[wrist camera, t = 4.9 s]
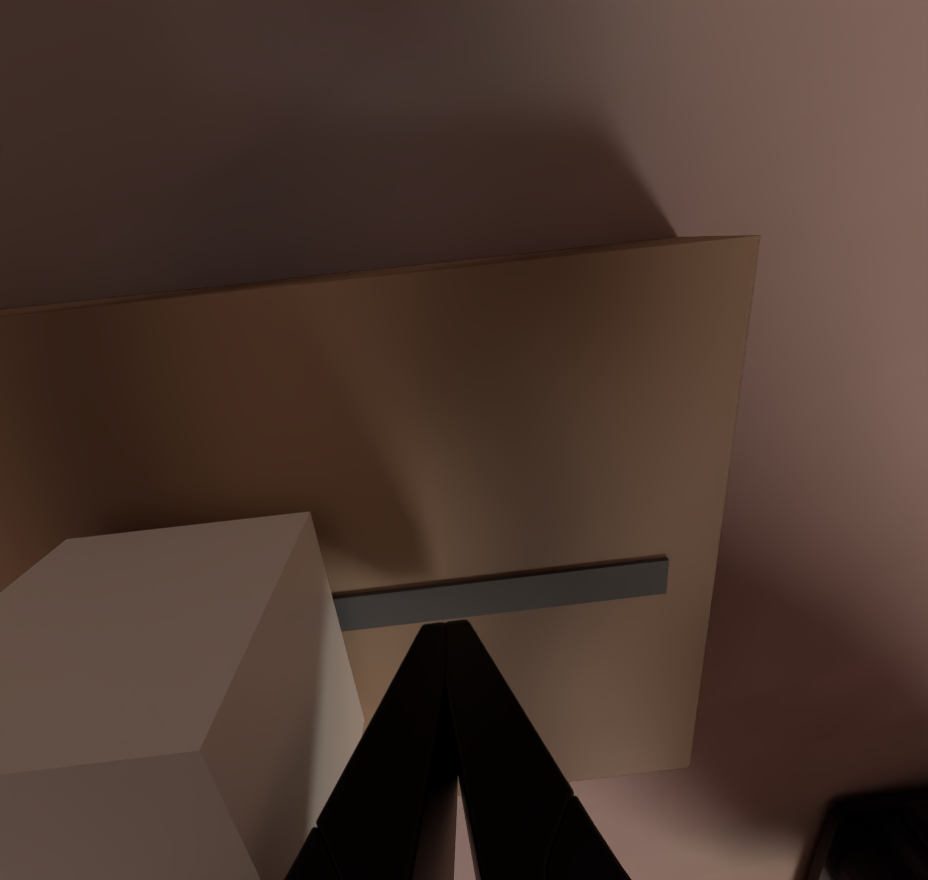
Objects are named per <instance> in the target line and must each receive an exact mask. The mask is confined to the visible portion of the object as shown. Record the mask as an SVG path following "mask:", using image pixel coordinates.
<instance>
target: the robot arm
mask: <svg viewBox="0 0 928 880" xmlns="http://www.w3.org/2000/svg"><path fill="white" fill-rule="evenodd" d="M458 778H459V785H460V790H461V796H462V802H463V808H464V814H465V819H466V825H467V831H468V837H469V843H470V848H471V854H472V860H473V866H474V872H475V877H476V880H631V878H630V877H629V875H628V874H627V873H626V871H625V870H624V869H623V867H622V866H621V864H620V863H619V861H618V860H617V858H616V857H615V855H614V854H613V852H612V851H611V849H610V847H609V846H608V844H607V843H606V841H605V840H604V838H603V837H602V835H601V834H600V832H599V831H598V829H597V828H596V826H595V825H594V823H593V821H592V820H591V818H590V816H589V815H588V813H587V812H586V810H585V808H584V807H583V805H582V803H581V802H580V800H579V799H578V797H577V796H574V792H573V789H572V788H571V786H570V784H569V783H568V781H567V780H566V778H565V776H564V775H563V773H562V771H561V770H560V768H559V767H558V765H557V763H556V762H555V760H554V758H553V757H552V755H551V754H550V752H549V750H548V749H547V747H546V745H545V744H544V742H543V741H542V739H541V737H540V736H539V734H538V732H537V731H536V729H535V727H534V726H533V724H532V723H531V721H530V719H529V718H528V716H527V714H526V713H525V711H524V710H523V708H522V706H521V705H520V703H519V701H518V700H517V698H516V697H515V695H514V693H513V692H512V690H511V688H510V687H509V685H508V684H507V682H506V680H505V679H504V677H503V675H502V674H501V672H500V670H499V669H498V667H497V666H496V664H495V662H494V661H493V659H492V657H491V656H490V654H489V653H488V651H487V649H486V648H485V646H484V644H483V643H482V641H481V640H480V638H479V636H478V635H477V633H476V631H475V630H474V628H473V627H472V625H471V623H470V622H469V621H468V620H466V619H464V620H455V621H448V622H446V623H444V622H437V623H428V624H424V625H422V626H421V628H420V630H419V631H418V633H417V635H416V637H415V639H414V641H413V643H412V644H411V646H410V648H409V650H408V652H407V654H406V656H405V657H404V659H403V661H402V663H401V665H400V667H399V668H398V670H397V672H396V674H395V676H394V678H393V680H392V681H391V683H390V685H389V687H388V689H387V691H386V693H385V694H384V696H383V698H382V700H381V702H380V704H379V706H378V707H377V709H376V711H375V713H374V715H373V717H372V719H371V720H370V722H369V724H368V726H367V728H366V730H365V731H364V733H363V735H362V737H361V739H360V741H359V743H358V744H357V746H356V748H355V750H354V752H353V754H352V756H351V757H350V759H349V761H348V763H347V765H346V767H345V769H344V770H343V772H342V774H341V776H340V778H339V780H338V781H337V783H336V785H335V787H334V789H333V791H332V793H331V794H330V796H329V798H328V800H327V802H326V804H325V806H324V807H323V809H322V811H321V813H320V815H319V817H318V819H317V821H316V825H317V827H313V828H312V829H311V831H310V833H309V835H308V836H307V838H306V840H305V842H304V844H303V846H302V848H301V850H300V851H299V853H298V855H297V857H296V859H295V861H294V862H293V864H292V866H291V868H290V869H289V871H288V873H287V875H286V876H285V878H284V880H454V861H455V838H456V815H457V792H458ZM807 880H928V790H926V791H918V792H910V793H902V794H894V795H886V796H878V797H870V798H862V799H854V800H846V801H842V802H839V803H837V804H835V805H834V806H833V807H831V809H830V810H829V813H828V816H827V819H826V822H825V825H824V828H823V831H822V834H821V837H820V840H819V843H818V846H817V849H816V852H815V855H814V859H813V862H812V865H811V868H810V871H809V874H808V877H807Z"/></svg>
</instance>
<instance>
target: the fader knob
mask: <svg viewBox="0 0 928 880" xmlns="http://www.w3.org/2000/svg"><path fill="white" fill-rule="evenodd" d="M363 725H364V717H363V713H362V709H361V705H360V701H359V698H358V694H357V690H356V686H355V682H354V678H353V675H352V671H351V667H350V663H349V659H348V655H347V651H346V648H345V644H344V640H343V636H342V632H341V628H340V625H339V621H338V617H337V613H336V609H335V605H334V602H333V598H332V594H331V590H330V586H329V582H328V578H327V575H326V571H325V567H324V563H323V559H322V555H321V552H320V548H319V544H318V540H317V536H316V532H315V529H314V525H313V521H312V517H311V513H310V511H309V512H300V513H292V514H283V515H274V516H265V517H257V518H248V519H239V520H230V521H221V522H213V523H204V524H195V525H186V526H178V527H169V528H160V529H151V530H143V531H134V532H125V533H116V534H108V535H99V536H90V537H81V538H72V539H66V540H65V541H64V542H62V543H61V544H60V545H59V546H57V547H56V548H55V549H54V550H52V551H51V552H50V553H49V554H47V555H46V556H45V557H44V558H42V559H41V560H40V561H39V562H37V563H36V564H35V565H34V566H33V567H31V568H30V569H29V570H28V571H26V572H25V573H24V574H23V575H21V576H20V577H19V578H18V579H16V580H15V581H14V582H13V583H11V584H10V585H9V586H8V587H7V588H5V589H4V590H3V591H2V592H0V880H284V878H285V876H286V875H287V873H288V871H289V869H290V868H291V866H292V864H293V862H294V861H295V859H296V857H297V855H298V853H299V851H300V850H301V848H302V846H303V844H304V842H305V840H306V838H307V836H308V835H309V833H310V831H311V829H312V828H313V827H317V825H316V821H317V819H318V817H319V815H320V813H321V811H322V809H323V807H324V806H325V804H326V802H327V800H328V798H329V796H330V794H331V793H332V791H333V789H334V787H335V785H336V783H337V781H338V780H339V778H340V776H341V774H342V772H343V770H344V769H345V767H346V765H347V763H348V761H349V759H350V757H351V756H352V754H353V752H354V750H355V748H356V746H357V744H358V743H359V741H360V739H361V737H362V732H363Z"/></svg>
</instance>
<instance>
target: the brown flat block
mask: <svg viewBox="0 0 928 880" xmlns="http://www.w3.org/2000/svg"><path fill="white" fill-rule="evenodd" d="M759 243H760V235H751V236H700V237H674V238H665V239H655V240H646V241H637V242H627V243H618V244H609V245H599V246H590V247H580V248H571V249H562V250H552V251H543V252H534V253H524V254H515V255H506V256H496V257H487V258H478V259H468V260H459V261H450V262H440V263H431V264H422V265H412V266H403V267H393V268H384V269H375V270H365V271H356V272H347V273H337V274H328V275H319V276H309V277H300V278H291V279H281V280H272V281H263V282H253V283H244V284H234V285H225V286H216V287H206V288H197V289H188V290H178V291H169V292H160V293H150V294H141V295H132V296H122V297H113V298H104V299H94V300H85V301H76V302H66V303H57V304H47V305H38V306H29V307H19V308H10V309H1V310H0V592H2V591H3V590H4V589H5V588H7V587H8V586H9V585H10V584H11V583H13V582H14V581H15V580H16V579H18V578H19V577H20V576H21V575H23V574H24V573H25V572H26V571H28V570H29V569H30V568H31V567H33V566H34V565H35V564H36V563H37V562H39V561H40V560H41V559H42V558H44V557H45V556H46V555H47V554H49V553H50V552H51V551H52V550H54V549H55V548H56V547H57V546H59V545H60V544H61V543H62V542H64V541H65V540H66V539H72V538H81V537H90V536H99V535H108V534H116V533H125V532H134V531H143V530H151V529H160V528H169V527H178V526H186V525H195V524H204V523H213V522H221V521H230V520H239V519H248V518H257V517H265V516H274V515H283V514H292V513H300V512H309V511H310V513H311V517H312V521H313V525H314V529H315V532H316V536H317V540H318V544H319V548H320V552H321V555H322V559H323V563H324V567H325V571H326V575H327V578H328V582H329V586H330V590H331V594H332V598H333V602H334V605H335V609H336V613H337V617H338V621H339V625H340V628H341V632H342V636H343V640H344V644H345V648H346V651H347V655H348V659H349V663H350V667H351V671H352V675H353V678H354V682H355V686H356V690H357V694H358V698H359V701H360V705H361V709H362V713H363V717H364V725H363V732H362V735H363V733H364V731H365V730H366V728H367V726H368V724H369V722H370V720H371V719H372V717H373V715H374V713H375V711H376V709H377V707H378V706H379V704H380V702H381V700H382V698H383V696H384V694H385V693H386V691H387V689H388V687H389V685H390V683H391V681H392V680H393V678H394V676H395V674H396V672H397V670H398V668H399V667H400V665H401V663H402V661H403V659H404V657H405V656H406V654H407V652H408V650H409V648H410V646H411V644H412V643H413V641H414V639H415V637H416V635H417V633H418V631H419V630H420V628H421V626H422V625H424V624H428V623H437V622H444V623H446V622H448V621H455V620H464V619H466V620H468V621H469V622H470V623H471V625H472V627H473V628H474V630H475V631H476V633H477V635H478V636H479V638H480V640H481V641H482V643H483V644H484V646H485V648H486V649H487V651H488V653H489V654H490V656H491V657H492V659H493V661H494V662H495V664H496V666H497V667H498V669H499V670H500V672H501V674H502V675H503V677H504V679H505V680H506V682H507V684H508V685H509V687H510V688H511V690H512V692H513V693H514V695H515V697H516V698H517V700H518V701H519V703H520V705H521V706H522V708H523V710H524V711H525V713H526V714H527V716H528V718H529V719H530V721H531V723H532V724H533V726H534V727H535V729H536V731H537V732H538V734H539V736H540V737H541V739H542V741H543V742H544V744H545V745H546V747H547V749H548V750H549V752H550V754H551V755H552V757H553V758H554V760H555V762H556V763H557V765H558V767H559V768H560V770H561V771H562V773H563V775H564V776H565V778H566V780H567V781H568V782H573V781H581V780H589V779H597V778H605V777H613V776H621V775H629V774H638V773H646V772H654V771H662V770H670V769H678V768H686V767H689V766H690V759H691V751H692V744H693V736H694V729H695V721H696V714H697V706H698V699H699V691H700V684H701V676H702V669H703V661H704V654H705V646H706V639H707V632H708V624H709V617H710V609H711V602H712V594H713V587H714V579H715V572H716V564H717V557H718V549H719V542H720V534H721V527H722V519H723V512H724V504H725V497H726V490H727V482H728V475H729V467H730V460H731V452H732V445H733V437H734V430H735V422H736V415H737V407H738V400H739V392H740V385H741V377H742V370H743V362H744V355H745V348H746V340H747V333H748V325H749V318H750V310H751V303H752V295H753V288H754V280H755V273H756V265H757V258H758V250H759ZM459 795H461V790H460V785H459V778H458V792H457V796H459Z"/></svg>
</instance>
